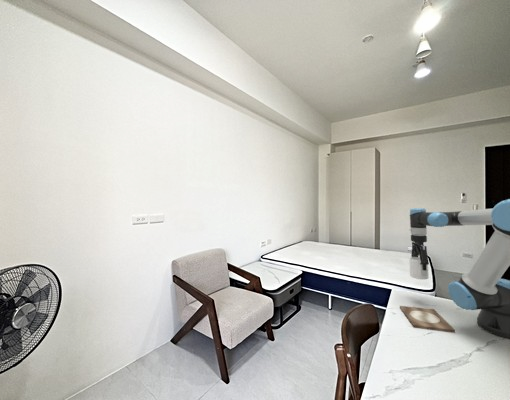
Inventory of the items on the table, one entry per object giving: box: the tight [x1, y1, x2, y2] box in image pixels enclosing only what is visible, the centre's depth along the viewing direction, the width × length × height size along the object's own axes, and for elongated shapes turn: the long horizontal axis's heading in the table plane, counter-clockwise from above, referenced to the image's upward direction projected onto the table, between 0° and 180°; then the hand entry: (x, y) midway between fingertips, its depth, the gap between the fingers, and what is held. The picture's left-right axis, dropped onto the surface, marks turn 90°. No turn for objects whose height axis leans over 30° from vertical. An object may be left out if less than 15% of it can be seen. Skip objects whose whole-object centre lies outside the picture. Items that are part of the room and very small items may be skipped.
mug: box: [408, 256, 429, 280], centre depth 129 cm, size 9×12×11 cm
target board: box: [399, 305, 456, 334], centre depth 111 cm, size 16×20×1 cm
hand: (419, 272), depth 128 cm, fingers closed on mug, 10 cm apart
